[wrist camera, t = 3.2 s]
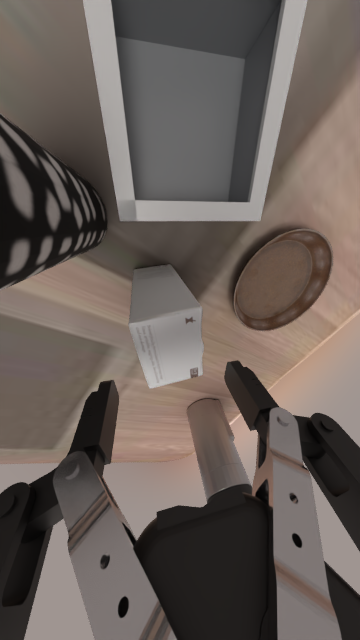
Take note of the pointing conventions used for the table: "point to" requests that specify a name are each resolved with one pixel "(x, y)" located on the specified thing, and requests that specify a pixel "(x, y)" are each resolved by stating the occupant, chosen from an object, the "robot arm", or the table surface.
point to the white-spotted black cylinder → (42, 208)
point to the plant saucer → (283, 279)
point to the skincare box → (165, 326)
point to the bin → (192, 102)
